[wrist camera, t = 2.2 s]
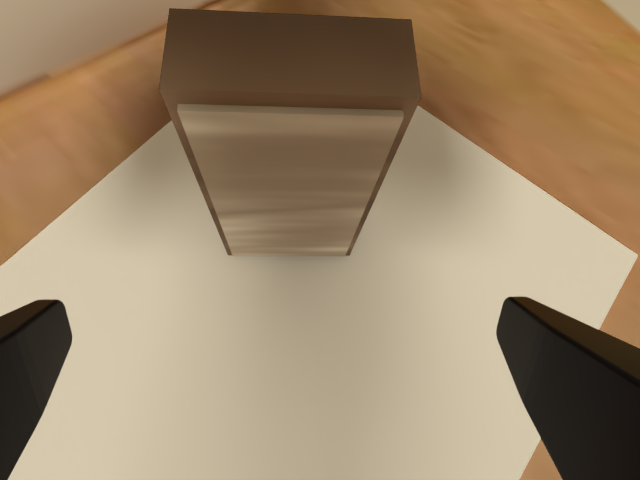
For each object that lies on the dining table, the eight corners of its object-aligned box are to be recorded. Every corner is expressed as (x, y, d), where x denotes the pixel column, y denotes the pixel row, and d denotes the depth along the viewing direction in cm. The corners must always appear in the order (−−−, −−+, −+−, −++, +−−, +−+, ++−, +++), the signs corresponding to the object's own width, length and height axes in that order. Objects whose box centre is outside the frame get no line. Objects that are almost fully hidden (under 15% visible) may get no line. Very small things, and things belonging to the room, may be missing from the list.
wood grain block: (349, 259, 21) (422, 104, 10) (227, 259, 21) (157, 96, 9) (347, 211, 22) (411, 19, 11) (230, 210, 22) (169, 8, 10)
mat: (300, 876, 14) (301, 889, 14) (-139, 392, 18) (-148, 392, 17) (632, 257, 23) (638, 255, 22) (290, 23, 27) (290, 18, 26)
